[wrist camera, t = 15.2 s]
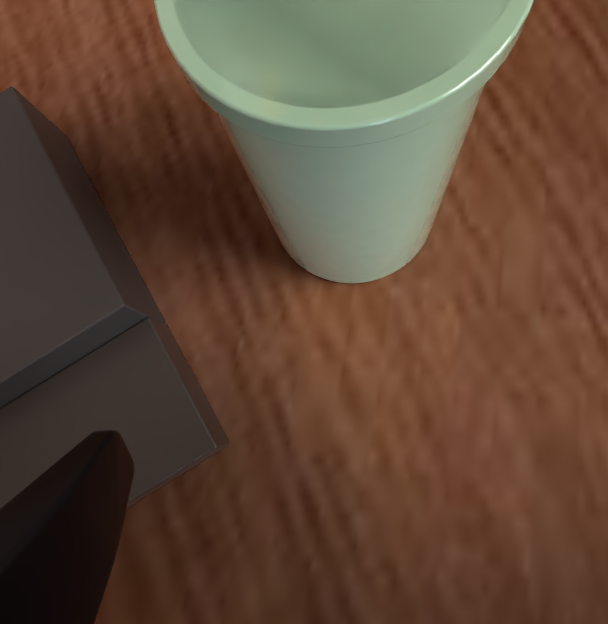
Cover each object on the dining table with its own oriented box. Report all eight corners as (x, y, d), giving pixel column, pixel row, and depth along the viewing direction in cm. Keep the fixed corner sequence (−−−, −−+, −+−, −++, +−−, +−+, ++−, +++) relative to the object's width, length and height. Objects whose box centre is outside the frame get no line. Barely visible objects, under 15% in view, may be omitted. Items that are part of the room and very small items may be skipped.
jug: (452, 282, 16) (579, 99, 7) (270, 297, 17) (148, 151, 7) (425, 69, 18) (495, -317, 9) (261, 91, 19) (155, -242, 9)
